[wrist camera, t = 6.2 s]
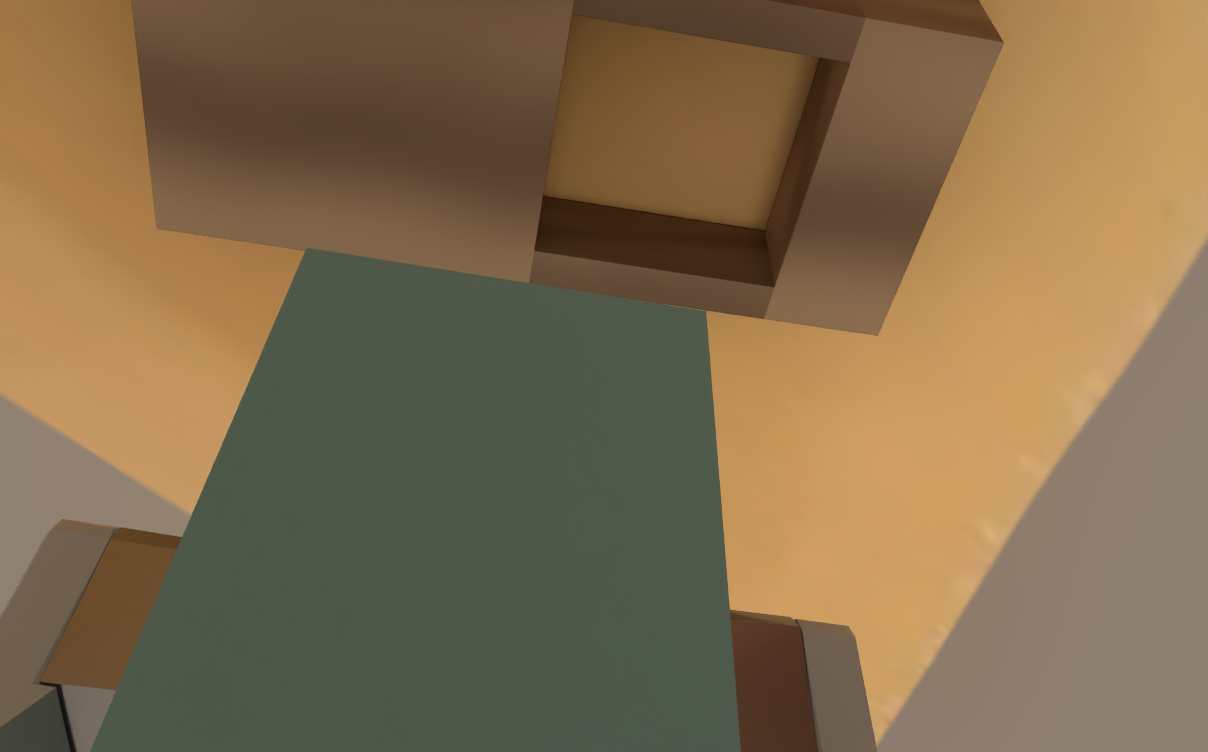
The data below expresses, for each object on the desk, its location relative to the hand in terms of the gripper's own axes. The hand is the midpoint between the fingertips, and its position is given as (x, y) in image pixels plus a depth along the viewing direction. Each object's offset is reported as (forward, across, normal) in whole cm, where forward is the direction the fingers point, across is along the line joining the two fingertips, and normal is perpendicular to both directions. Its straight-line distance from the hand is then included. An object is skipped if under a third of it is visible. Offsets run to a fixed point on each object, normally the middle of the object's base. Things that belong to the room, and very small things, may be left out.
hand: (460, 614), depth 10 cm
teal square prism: (+3, 0, 0) cm, 3 cm away
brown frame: (+18, 0, +3) cm, 19 cm away
